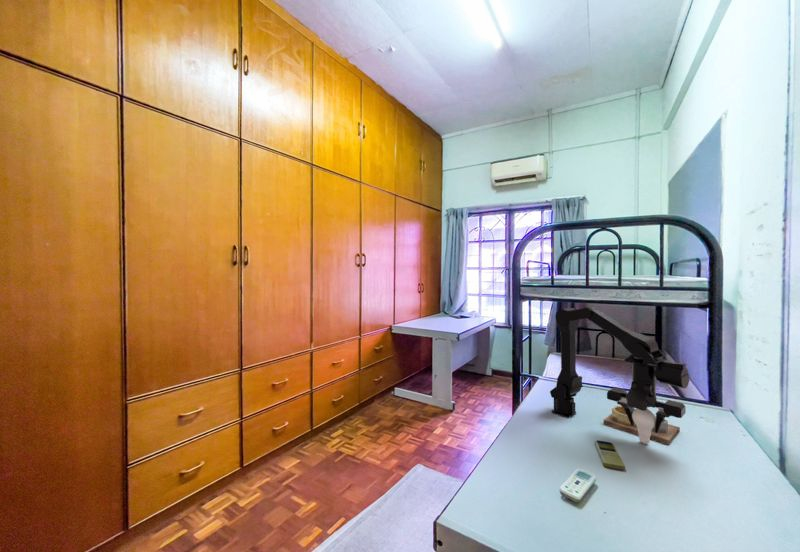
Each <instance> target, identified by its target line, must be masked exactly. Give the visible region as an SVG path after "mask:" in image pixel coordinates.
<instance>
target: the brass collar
mask: <svg viewBox="0 0 800 552" xmlns="http://www.w3.org/2000/svg"><path fill="white" fill-rule="evenodd" d="M635 409H636V408H634V410H635ZM611 414H612V417H613V418H614V419H615V420H616V421H617V422H620V423H623V424H627V425H630V426H632V425H631V424H630V421H629V419H628V416H627V414H626V412H625V410H624V408H623V407H622V406H621V405H615V406H614V407H612V408H611ZM633 426H636V424H635V422H634V425H633Z"/></svg>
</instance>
